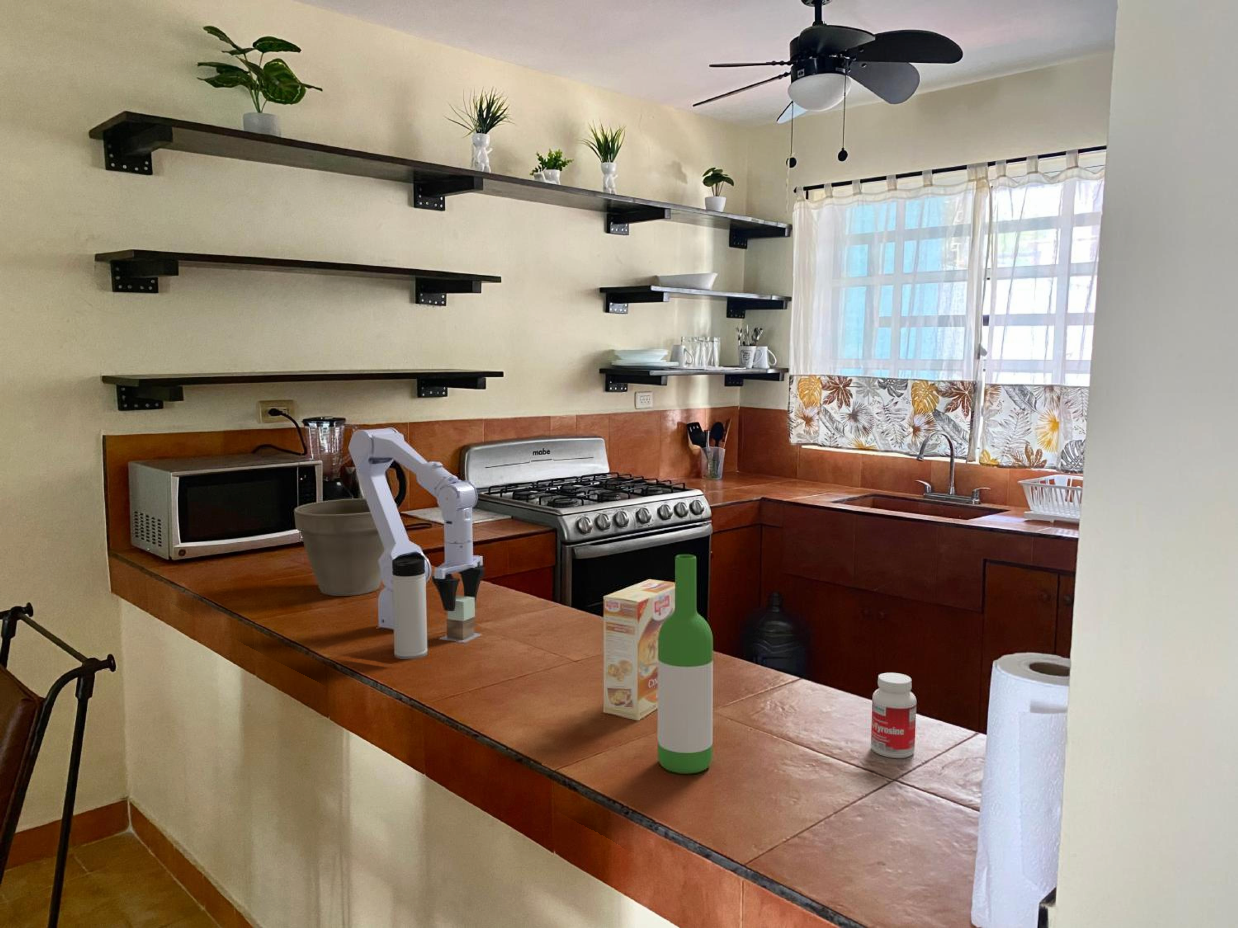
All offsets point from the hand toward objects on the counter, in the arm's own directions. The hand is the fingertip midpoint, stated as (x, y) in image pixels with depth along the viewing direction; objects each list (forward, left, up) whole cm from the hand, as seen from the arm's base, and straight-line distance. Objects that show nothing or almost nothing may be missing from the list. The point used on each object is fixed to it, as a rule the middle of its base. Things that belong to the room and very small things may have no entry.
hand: (460, 606), depth 193 cm
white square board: (0, 0, -7) cm, 7 cm away
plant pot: (-51, +25, -7) cm, 57 cm away
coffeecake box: (+49, -18, -7) cm, 53 cm away
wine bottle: (+64, -38, -7) cm, 75 cm away
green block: (0, 0, -2) cm, 2 cm away
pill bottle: (+90, -21, -7) cm, 93 cm away
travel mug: (-2, -14, -7) cm, 16 cm away
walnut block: (0, 0, -6) cm, 6 cm away
